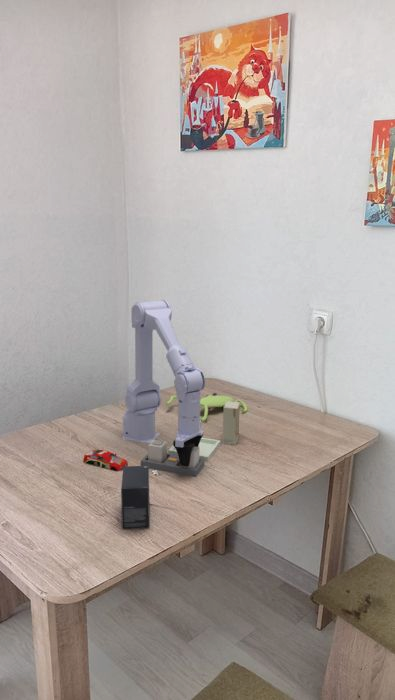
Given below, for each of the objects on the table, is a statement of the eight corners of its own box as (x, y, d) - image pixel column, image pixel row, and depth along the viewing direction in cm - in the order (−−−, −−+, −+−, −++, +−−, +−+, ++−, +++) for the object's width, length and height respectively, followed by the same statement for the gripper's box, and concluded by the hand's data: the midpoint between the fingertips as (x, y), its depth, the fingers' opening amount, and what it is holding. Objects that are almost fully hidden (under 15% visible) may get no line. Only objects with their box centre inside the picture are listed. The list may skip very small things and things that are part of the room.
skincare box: (236, 447, 168) (237, 409, 165) (221, 445, 169) (223, 407, 166) (238, 438, 175) (240, 401, 171) (225, 437, 175) (226, 400, 172)
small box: (122, 504, 136) (122, 465, 133) (149, 504, 136) (149, 464, 134) (120, 529, 126) (120, 487, 123) (150, 528, 126) (149, 486, 123)
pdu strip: (140, 468, 154) (140, 459, 153) (151, 458, 160) (151, 449, 160) (195, 479, 149) (196, 469, 148) (204, 467, 155) (204, 458, 154)
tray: (168, 456, 162) (168, 450, 161) (183, 439, 173) (183, 434, 172) (207, 463, 158) (207, 457, 157) (220, 446, 169) (220, 440, 168)
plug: (180, 471, 152) (180, 449, 150) (185, 464, 155) (185, 443, 154) (194, 473, 150) (194, 451, 149) (199, 467, 154) (199, 445, 152)
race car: (131, 468, 155) (131, 454, 154) (120, 476, 150) (120, 462, 149) (92, 457, 161) (92, 444, 160) (80, 464, 156) (80, 451, 155)
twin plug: (148, 465, 155) (148, 443, 153) (154, 459, 158) (154, 438, 157) (161, 467, 153) (161, 446, 152) (167, 461, 157) (167, 440, 155)
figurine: (160, 410, 197) (160, 395, 196) (221, 397, 212) (222, 382, 211) (189, 428, 183) (190, 412, 181) (253, 412, 197) (253, 397, 196)
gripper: (193, 426, 141) (193, 475, 144) (211, 407, 154) (210, 452, 158) (167, 422, 143) (167, 470, 147) (187, 403, 156) (187, 448, 160)
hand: (188, 461), depth 152 cm, fingers open, 5 cm apart
